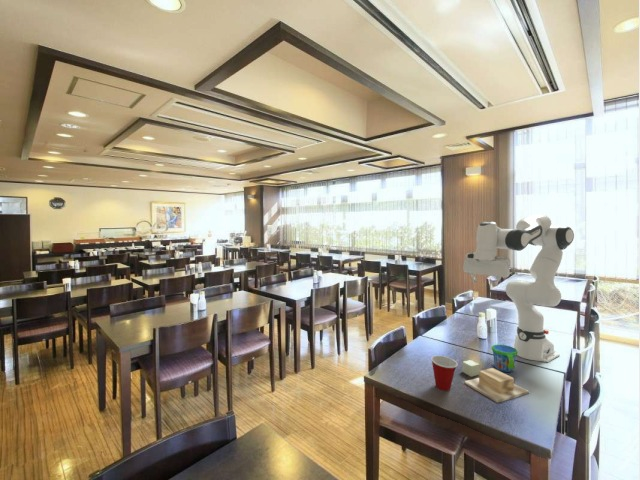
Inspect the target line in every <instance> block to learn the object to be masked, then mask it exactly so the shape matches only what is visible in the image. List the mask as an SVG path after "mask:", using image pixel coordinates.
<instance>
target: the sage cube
mask: <svg viewBox="0 0 640 480" xmlns="http://www.w3.org/2000/svg"><path fill="white" fill-rule="evenodd" d="M479 371H480V364H479V363H478V362H475V361H474V360H472V359H469V360H464V361H462V373H464V374H466V375H467V376H469V377H472V378H473V377H475V376H479Z"/></svg>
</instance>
